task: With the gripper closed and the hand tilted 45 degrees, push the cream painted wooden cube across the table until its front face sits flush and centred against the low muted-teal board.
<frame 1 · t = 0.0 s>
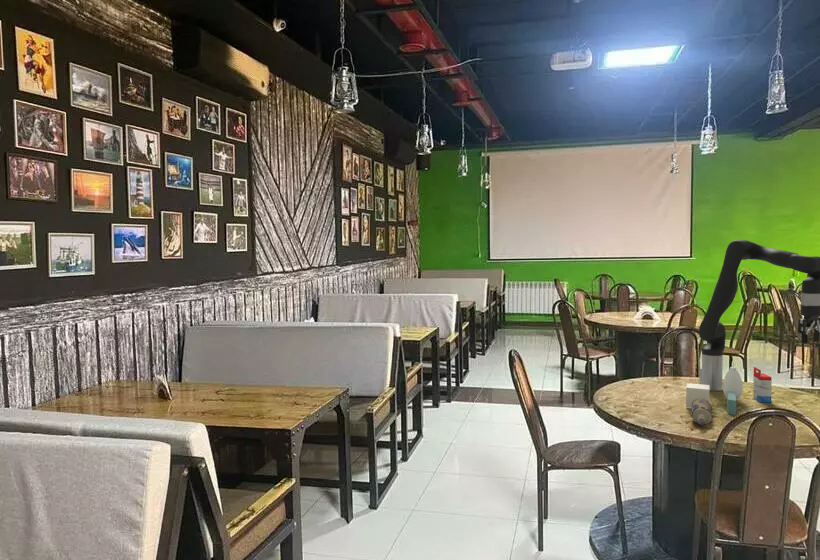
hand: (810, 342, 246), 29 cm above the table, tool pointing down, fingers open, 8 cm apart
decorative bottle: (698, 421, 237), on the table
cream block: (697, 406, 257), on the table
ink box: (762, 401, 265), on the table
sauce bottle: (732, 401, 265), on the table
teal board: (731, 409, 251), on the table
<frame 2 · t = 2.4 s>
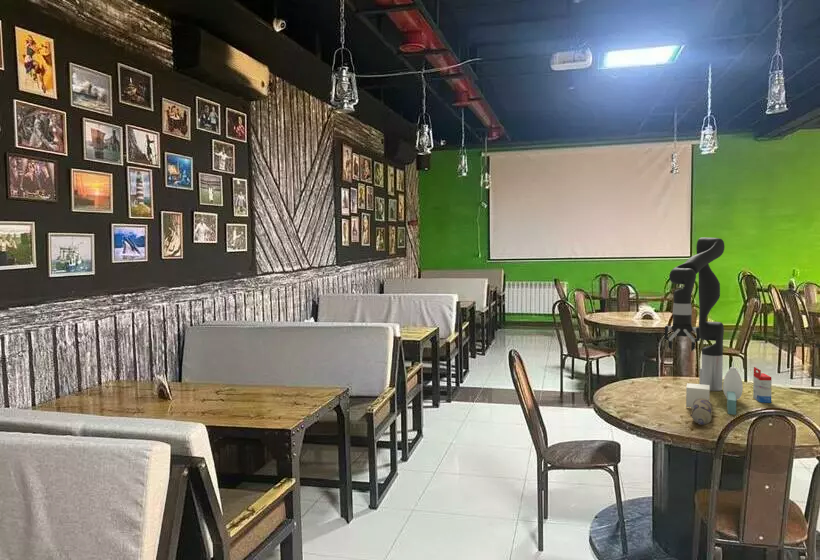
hand: (681, 349, 259), 25 cm above the table, tool pointing down, fingers open, 8 cm apart
nothing on the table moved.
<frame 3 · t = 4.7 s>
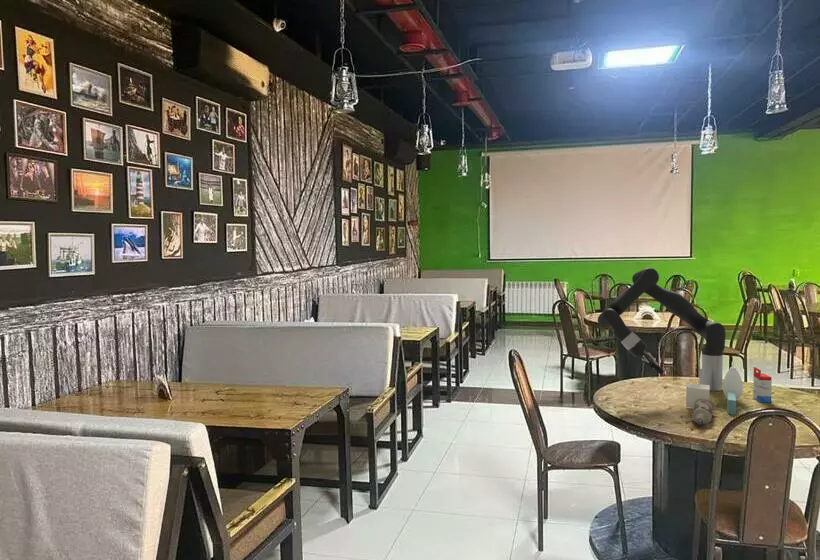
hand: (662, 373, 263), 14 cm above the table, tool tilted 45°, fingers closed
nothing on the table moved.
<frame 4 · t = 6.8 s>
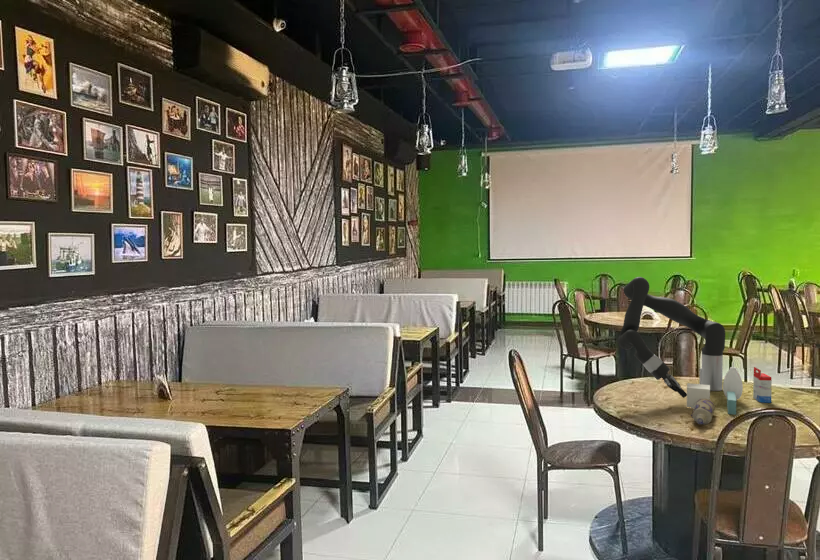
hand: (685, 396, 259), 4 cm above the table, tool tilted 45°, fingers closed
cream block: (698, 406, 257), on the table, touching gripper
everything else where it was.
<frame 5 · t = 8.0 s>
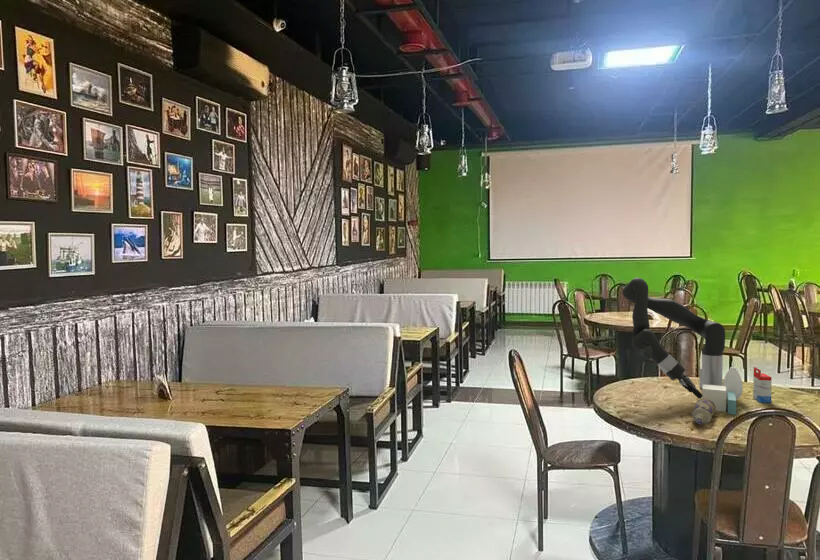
hand: (701, 397, 256), 4 cm above the table, tool tilted 45°, fingers closed
cream block: (713, 407, 254), on the table, touching gripper
everything else where it was.
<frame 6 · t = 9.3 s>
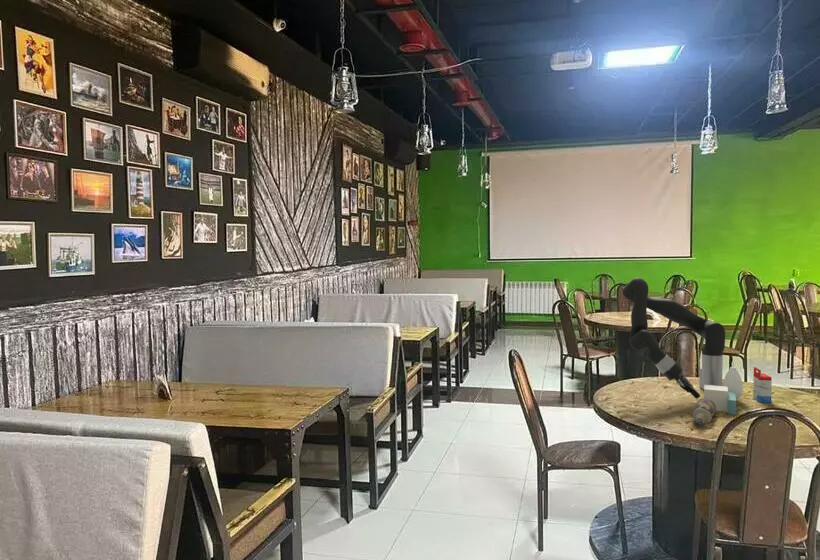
hand: (698, 397, 257), 4 cm above the table, tool tilted 45°, fingers closed
cream block: (715, 408, 254), on the table
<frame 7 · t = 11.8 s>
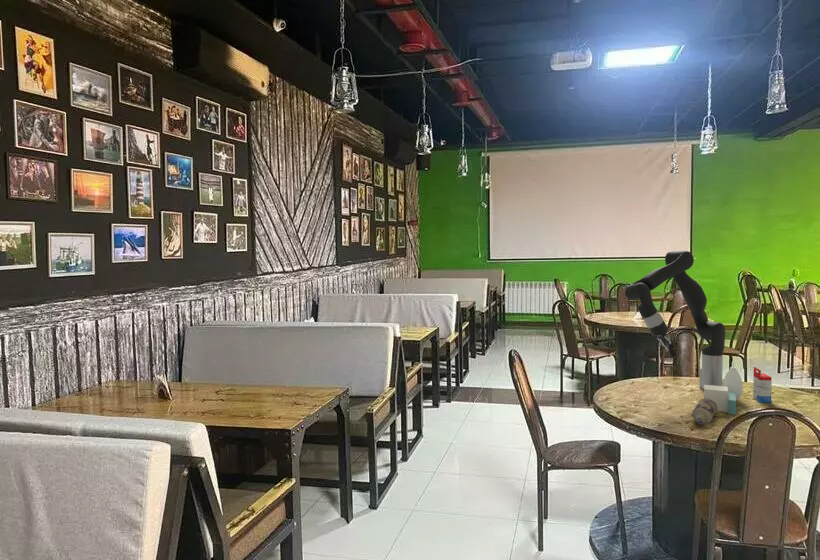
hand: (674, 356, 262), 21 cm above the table, tool tilted 30°, fingers closed
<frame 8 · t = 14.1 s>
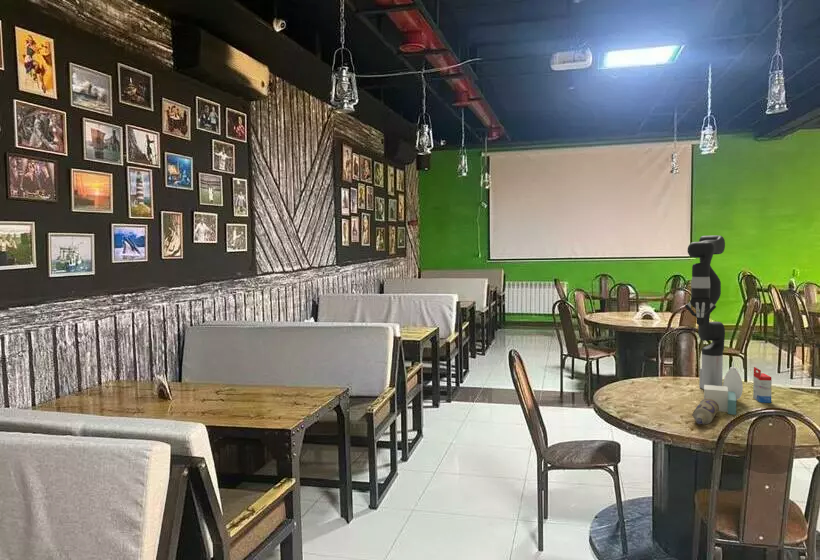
hand: (700, 325, 260), 35 cm above the table, tool pointing down, fingers closed
at the end: cream block 6.0 cm from the teal board (horizontally); cream block inside the target area (0.1 cm from its centre), on the table; cream block tilted 0° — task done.
